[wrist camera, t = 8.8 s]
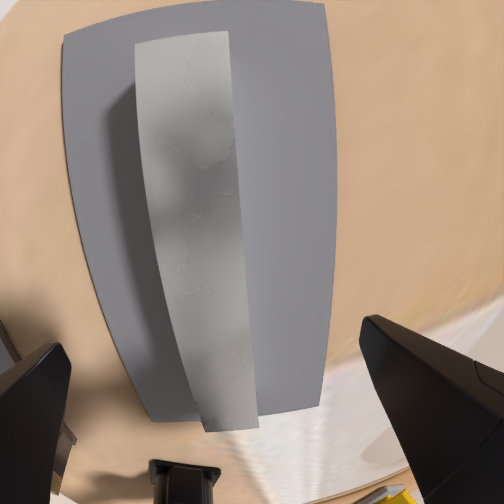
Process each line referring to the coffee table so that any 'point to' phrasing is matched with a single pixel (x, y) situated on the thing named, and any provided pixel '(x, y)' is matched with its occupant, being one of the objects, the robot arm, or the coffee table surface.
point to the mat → (250, 190)
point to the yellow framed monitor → (389, 496)
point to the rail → (198, 218)
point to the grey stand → (4, 357)
